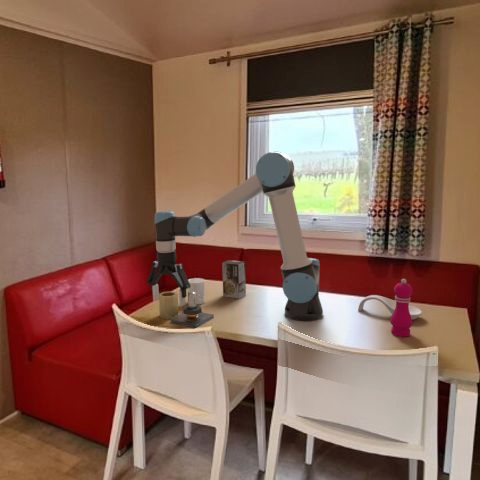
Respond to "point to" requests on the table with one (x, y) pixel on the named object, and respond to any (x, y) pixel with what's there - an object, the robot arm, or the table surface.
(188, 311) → the ring
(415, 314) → the white curved piece
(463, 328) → the table surface
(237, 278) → the coffee box
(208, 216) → the robot arm
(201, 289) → the white cup
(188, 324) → the pipe stand
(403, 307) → the pepper mill
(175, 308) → the sleeve
